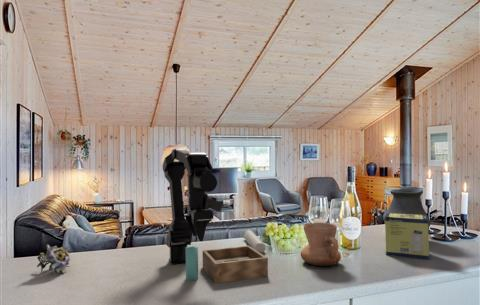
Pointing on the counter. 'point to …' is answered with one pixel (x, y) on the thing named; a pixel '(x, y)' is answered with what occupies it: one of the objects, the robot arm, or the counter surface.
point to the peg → (191, 263)
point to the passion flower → (55, 259)
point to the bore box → (234, 264)
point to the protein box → (407, 235)
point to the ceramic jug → (321, 244)
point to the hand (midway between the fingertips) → (197, 238)
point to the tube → (254, 241)
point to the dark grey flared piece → (406, 202)
